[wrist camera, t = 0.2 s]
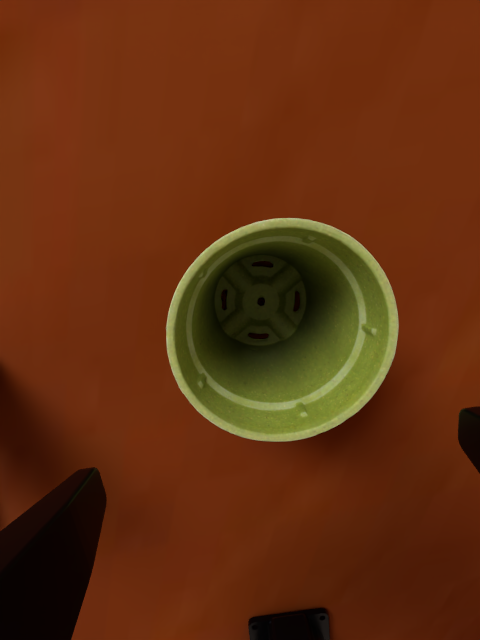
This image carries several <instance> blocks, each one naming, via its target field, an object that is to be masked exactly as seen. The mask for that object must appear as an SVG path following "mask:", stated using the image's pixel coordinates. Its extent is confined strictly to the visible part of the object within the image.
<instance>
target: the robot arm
mask: <svg viewBox="0 0 480 640" xmlns="http://www.w3.org/2000/svg"><path fill="white" fill-rule="evenodd" d="M458 440H459V444H460V446H461V448H462V449H463V451H464V452H465V454H466V455H467V456H468V458H469V459H470V461H471V462H472V463H473V465H474V466H475V468H476V469H477V470H478V472H479V473H480V407H470V408H464V409H462V410H461V411H460V413H459V425H458ZM105 508H106V493H105V489H104V486H103V483H102V480H101V476H100V473H99V471H98V469H97V468H95V467H92V468H86V469H80V470H78V471H76V472H75V473H74V474H73V475H71V476H70V477H69V478H68V479H66V480H65V481H64V482H62V483H61V484H60V485H59V486H57V487H56V488H55V489H54V490H52V491H51V492H50V493H49V494H47V495H46V496H45V497H43V498H42V499H41V500H40V501H38V502H37V503H36V504H35V505H33V506H32V507H31V508H30V509H28V510H27V511H26V512H24V513H23V514H22V515H21V516H19V517H18V518H17V519H16V520H14V521H13V522H12V523H10V524H9V525H8V526H7V527H5V528H4V529H3V530H2V531H0V640H71V638H72V635H73V632H74V628H75V625H76V622H77V619H78V616H79V612H80V609H81V606H82V603H83V600H84V596H85V593H86V590H87V587H88V584H89V580H90V577H91V573H92V569H93V565H94V561H95V556H96V551H97V546H98V541H99V537H100V532H101V527H102V522H103V518H104V513H105ZM248 626H249V635H250V640H330V637H329V618H328V614H327V611H326V609H324V608H318V609H310V610H303V611H296V612H288V613H281V614H274V615H266V616H259V617H253V618H251V619H249V621H248Z"/></svg>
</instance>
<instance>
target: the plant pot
mask: <svg viewBox="0 0 480 640" xmlns="http://www.w3.org/2000/svg"><path fill="white" fill-rule="evenodd" d="M258 261H269V262H271V263H272V264H273V267H272V268H269V267H263V266H252V264H253V263H254V262H258ZM225 289H226V290H227V298H226V307H227V309H226V310H225V311H224V310H223V309H222V300H221V294H222V291H223V290H225ZM296 291H297V292H298V293H299V294H300V306H299V309H298V310H297V311H296V312H294V311H293V309H294V304H295V292H296ZM259 298H264V300H265V303H264V305H263V306H260V305H258V303H257V302H258V299H259ZM249 333H256V334H264V333H267V334H269V336H268V337H267V338H265V339H253V338H251V337H249V336H248V334H249ZM397 338H398V312H397V306H396V302H395V297H394V294H393V291H392V288H391V285H390V283H389V280H388V279H387V277H386V275H385V273H384V271H383V270H382V268H381V267H380V265H379V264H378V262H377V261H376V260H375V259H374V258H373V256H372V255H371V254H370V253H369V252H368V251H367V250H366V249H365V248H364V247H363V246H362V245H361V244H360V243H359V242H358V241H356V240H355V239H354V238H352V237H351V236H349V235H348V234H346V233H344V232H342V231H340V230H338V229H336V228H334V227H332V226H329V225H326V224H323V223H319V222H315V221H311V220H306V219H297V218H280V219H270V220H264V221H260V222H256V223H253V224H250V225H247V226H244V227H242V228H239V229H237V230H235V231H233V232H231V233H229V234H227V235H225V236H224V237H222V238H220V239H219V240H217V241H216V242H214V243H213V244H212V245H211V246H210V247H208V248H207V249H206V250H205V251H204V252H203V253H202V254H201V255H200V256H199V257H198V258H197V259H196V260H195V261H194V262H193V263H192V265H191V266H190V267H189V268H188V270H187V271H186V273H185V274H184V276H183V278H182V279H181V281H180V283H179V285H178V287H177V289H176V291H175V293H174V296H173V299H172V302H171V305H170V309H169V313H168V319H167V328H166V340H167V352H168V357H169V362H170V365H171V368H172V372H173V374H174V377H175V379H176V381H177V383H178V386H179V388H180V389H181V391H182V392H183V394H184V395H185V396H186V398H187V399H188V400H189V402H190V403H191V404H192V405H193V406H194V407H195V409H196V410H197V411H198V412H199V413H200V414H202V415H203V416H204V417H205V418H206V419H208V420H209V421H211V422H212V423H213V424H215V425H217V426H218V427H220V428H221V429H223V430H225V431H228V432H230V433H232V434H235V435H238V436H241V437H244V438H248V439H253V440H258V441H271V442H282V441H294V440H300V439H305V438H308V437H312V436H315V435H317V434H320V433H322V432H325V431H328V430H330V429H331V428H334V427H336V426H338V425H339V424H341V423H342V422H344V421H345V420H347V419H348V418H350V417H351V416H353V415H354V414H355V413H357V412H358V411H359V410H360V409H361V408H362V407H363V406H364V405H365V404H366V403H367V402H368V401H369V400H370V399H371V398H372V396H373V395H374V394H375V393H376V391H377V390H378V388H379V387H380V385H381V383H382V382H383V380H384V378H385V377H386V374H387V372H388V370H389V368H390V366H391V364H392V361H393V358H394V355H395V350H396V345H397Z"/></svg>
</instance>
